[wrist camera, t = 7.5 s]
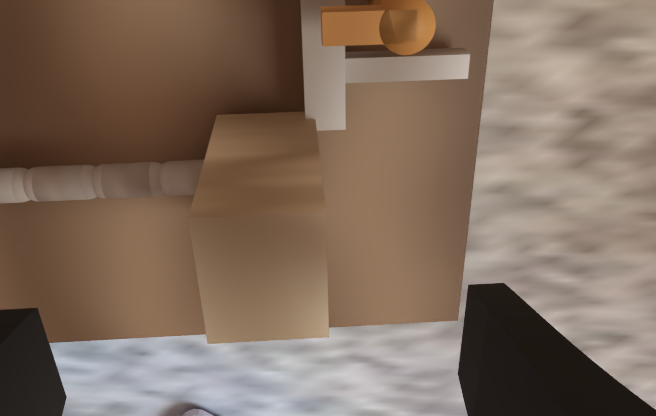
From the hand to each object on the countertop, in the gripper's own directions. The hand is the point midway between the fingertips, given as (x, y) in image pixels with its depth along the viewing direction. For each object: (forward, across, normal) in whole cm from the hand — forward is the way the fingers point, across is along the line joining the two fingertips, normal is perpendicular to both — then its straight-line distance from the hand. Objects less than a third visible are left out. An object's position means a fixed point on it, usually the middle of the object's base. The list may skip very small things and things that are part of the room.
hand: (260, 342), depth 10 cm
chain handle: (+7, +4, -2) cm, 8 cm away
